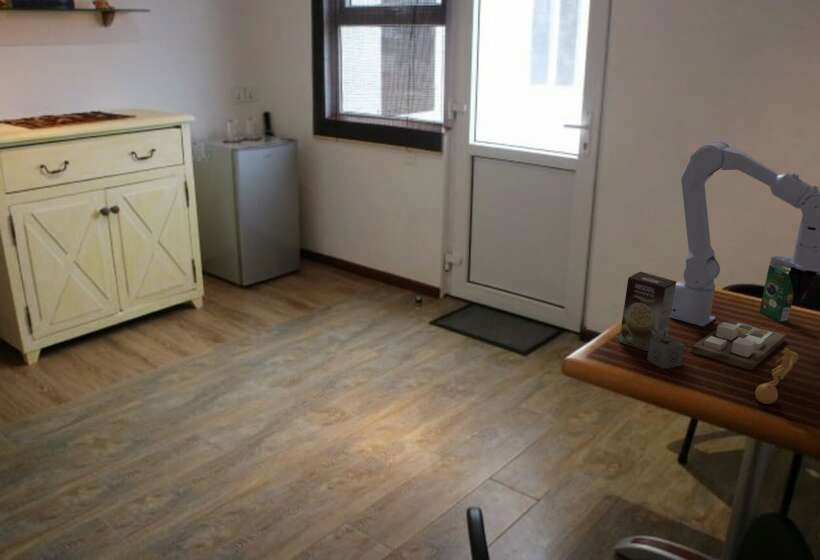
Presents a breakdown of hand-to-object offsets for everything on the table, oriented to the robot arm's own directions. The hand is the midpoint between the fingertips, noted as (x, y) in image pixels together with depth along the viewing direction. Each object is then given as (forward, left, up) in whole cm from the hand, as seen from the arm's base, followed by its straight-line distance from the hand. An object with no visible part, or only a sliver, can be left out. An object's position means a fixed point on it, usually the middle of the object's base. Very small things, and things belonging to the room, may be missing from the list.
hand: (797, 301), depth 168 cm
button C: (-11, -19, -10) cm, 24 cm away
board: (-8, -12, -10) cm, 17 cm away
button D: (-4, -19, -9) cm, 21 cm away
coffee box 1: (-24, -27, -11) cm, 38 cm away
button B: (-5, -12, -10) cm, 16 cm away
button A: (-11, -12, -9) cm, 18 cm away
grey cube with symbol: (-16, -33, -11) cm, 38 cm away
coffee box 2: (-8, +15, -11) cm, 20 cm away
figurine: (+7, -36, -11) cm, 38 cm away
